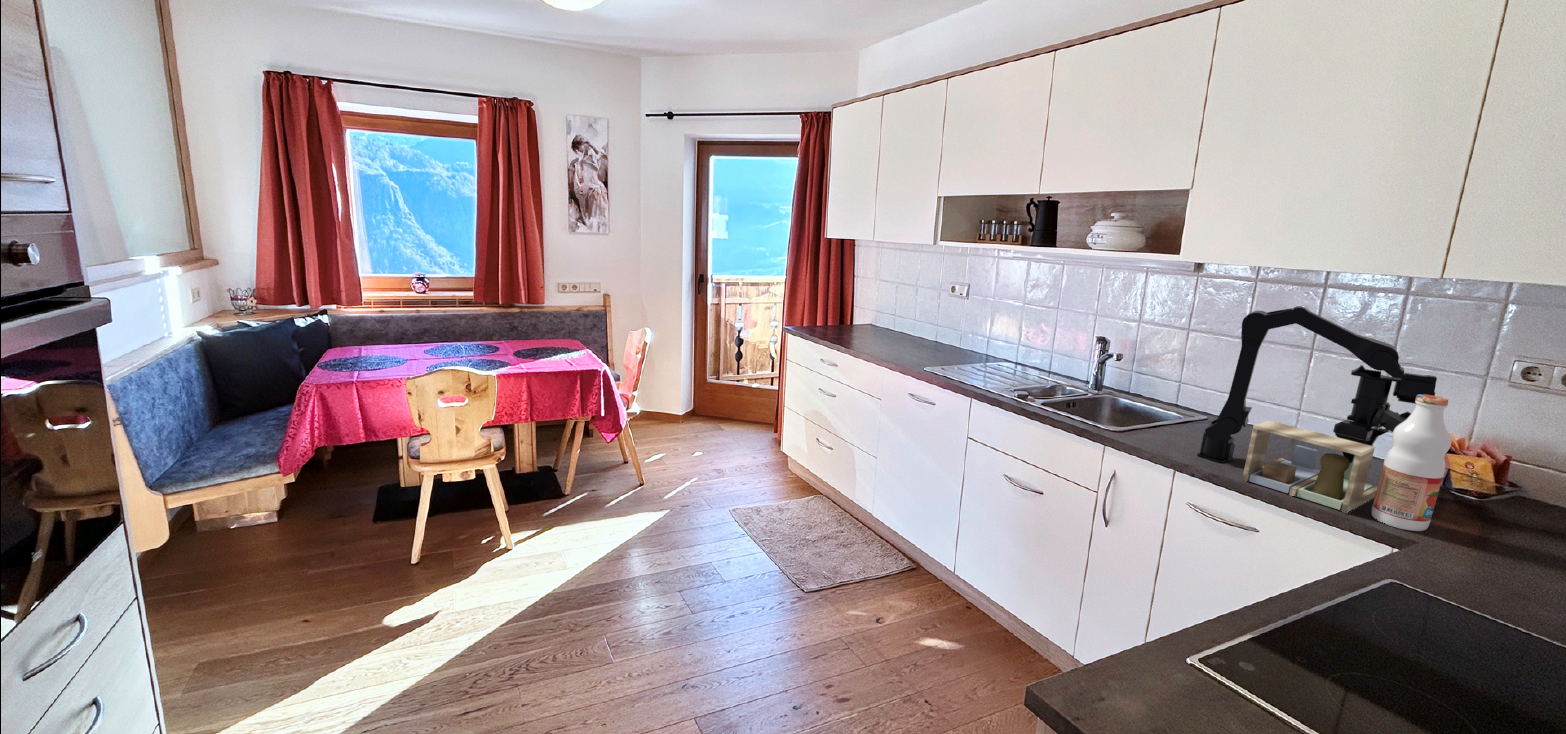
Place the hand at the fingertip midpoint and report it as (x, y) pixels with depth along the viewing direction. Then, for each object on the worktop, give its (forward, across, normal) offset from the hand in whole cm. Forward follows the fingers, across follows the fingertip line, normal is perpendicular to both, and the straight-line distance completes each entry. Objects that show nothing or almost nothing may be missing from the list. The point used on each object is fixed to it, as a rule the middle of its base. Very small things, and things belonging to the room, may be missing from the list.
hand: (1355, 459), depth 164 cm
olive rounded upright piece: (+8, -14, 0) cm, 16 cm away
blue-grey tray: (+7, -9, +10) cm, 15 cm away
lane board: (+7, -9, +5) cm, 13 cm away
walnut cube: (+8, -14, +10) cm, 19 cm away
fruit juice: (+8, -14, -13) cm, 21 cm away
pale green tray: (+7, -9, 0) cm, 12 cm away
